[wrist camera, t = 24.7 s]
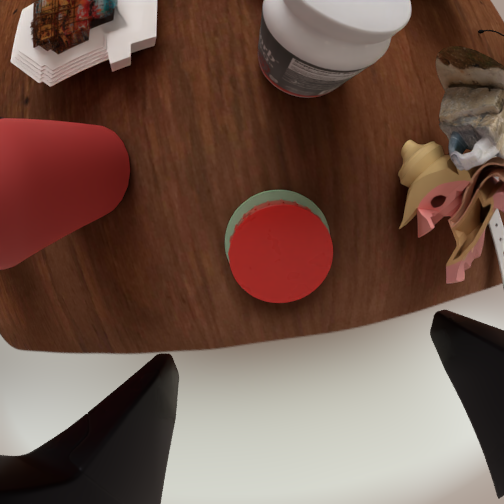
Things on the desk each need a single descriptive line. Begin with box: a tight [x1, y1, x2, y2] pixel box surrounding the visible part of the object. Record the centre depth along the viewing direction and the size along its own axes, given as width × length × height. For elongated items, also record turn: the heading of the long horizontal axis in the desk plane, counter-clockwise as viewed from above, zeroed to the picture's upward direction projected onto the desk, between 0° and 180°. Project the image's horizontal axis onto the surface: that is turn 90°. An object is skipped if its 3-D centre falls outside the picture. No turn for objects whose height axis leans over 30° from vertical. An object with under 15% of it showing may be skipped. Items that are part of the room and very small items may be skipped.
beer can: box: [0, 118, 130, 270], centre depth 11 cm, size 7×7×12 cm
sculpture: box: [436, 46, 504, 171], centre depth 9 cm, size 8×8×6 cm
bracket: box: [488, 156, 504, 288], centre depth 16 cm, size 2×6×15 cm
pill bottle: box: [258, 0, 411, 98], centre depth 9 cm, size 6×6×10 cm
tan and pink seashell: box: [398, 140, 504, 284], centre depth 14 cm, size 9×10×10 cm
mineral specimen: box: [11, 0, 157, 87], centre depth 9 cm, size 12×12×7 cm
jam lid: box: [228, 199, 333, 303], centre depth 17 cm, size 6×6×2 cm
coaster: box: [225, 190, 330, 261], centre depth 18 cm, size 7×7×1 cm
